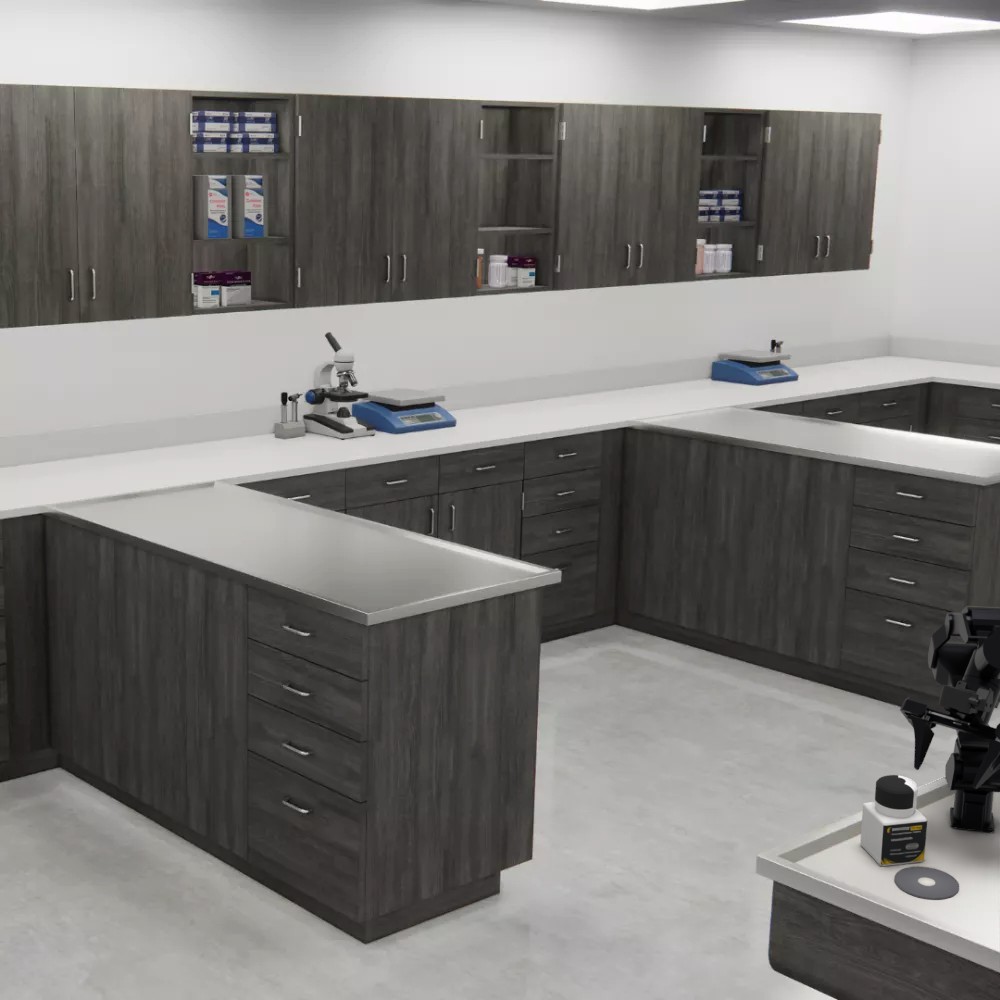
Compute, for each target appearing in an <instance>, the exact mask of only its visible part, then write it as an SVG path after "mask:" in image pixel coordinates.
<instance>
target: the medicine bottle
mask: <svg viewBox="0 0 1000 1000" xmlns="http://www.w3.org/2000/svg"><path fill="white" fill-rule="evenodd" d="M918 787H919V786H918V784H917V783H916V782H915V781H914V780H913V779H911V778H910V777H909V778H908V777H906V776H903V775H897V774H890V775H889V774H888V775H883V776H881V777H879V778H878V779H877V780H876V782H875V792H874V801H870V802H863V804H862V813H861V829H860V846H861V847H863V849H864V850H865V851H866V852H867V853H868V854H869V855H870V856H871V857H872V858H873V860H874V861H876V863H878V865H879V866H880V867H888V866H889V867H890V866H897V865H907V864H913V863H914V864H916V863H923V862H925V856H926V841H927V831H928V829H927V828H928V818H927V817H925V816H924V814H922V813H921V812H920V811H919V810H918V809H917V806H918V805H917V804H918V791H919V790H918Z"/></svg>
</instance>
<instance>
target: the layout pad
mask: <svg viewBox="0 0 1000 1000" xmlns="http://www.w3.org/2000/svg"><path fill="white" fill-rule="evenodd" d="M894 884H895V885H896V886H897V887H898V889H899V890H901V891H902V892H904V893H906V894H908V895H910V896H913V897H916V898H921V899H924V900H938V901H939V900H946V899H949V898H951V897H954V896H956V895H957V894H958V893H959V890H960V884H959V881H958V880H957V879H956V878H955V877H954V876H952V875H951V874H949V873H948V872H945V871H944V870H941V869H937V868H935V867H934V868H933V867H929V866H918V865H917V866H909V867H904V868H901V869H900V870H898V871H897V872H896V873H895V875H894Z"/></svg>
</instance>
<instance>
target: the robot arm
mask: <svg viewBox="0 0 1000 1000" xmlns="http://www.w3.org/2000/svg"><path fill="white" fill-rule="evenodd" d="M951 637H960V638H961V639H962V640H963V642H950V640H951ZM927 662H928V668H929V669H930V670H931V671H932V675H933V678H934V680H935V682H936V683H938V684H939V685H941V686H942V688H941V689H942V690H941V693H940V698H939V701H938V704H937V705H938V706H939V707H943V709H944V711H946V712H949V713H944V712H941V711H938V710H937V709H936V707H935V706H934V705H933V703H932V702H931V701H928V700H925V699H923V698H921V699H920V698H917V697H914V696H911V695H909V697H907V698H906V699H904V700H903V702H902V705H901V706H900V709H899V711H900V712H901V714H902V715H903V716H904V718H905V719H906V720H907V722H908V723H909V724H910V725H911V727H912V729H913V732H914V733H913V734H914V758H913V759H914V760H913V768H914V769H915V770H917V771H919V769H920V768H921V767H922V765H923V763H924V761H925V758H926V756H927V753H928V750H929V749H930V746H931V744H932V742H933V739H934V736H935V733H934V731H933V730H932V729H934V728H936V727H937V725H939V726H941V727H944V728H945V727H946V728H949V729H952V730H955V732H956V735H957V737H956V739H955V741H954V747H953V752H951V754H950V756H949V757H948V760H947V761H946V763H945V770H944V771H945V780H946V781H945V782H946V784H947V785H948V788H949V791H955V792H954V804H953V807H950V808H949V816H950V818H949V820H950V827H951V828H954V829H959V830H967V831H969V830H970V831H978V832H983V833H984V832H985V833H995V828H996V827H995V820H994V819H995V818H994V814H993V802H994V793H1000V722H999V723H998V724H997V725H996V727H993V726H990V724H989V722H990V720H991V717H992V716H993V713H994V710H995V709H998V707H999V705H1000V701H999V697H1000V606H981V605H980V606H979V605H978V606H977V605H967V606H965V607H964V608H963V609H962V610H961V611H951V612H950V613H949V612H947V613H946V616H945V619H944V623H943V624H942V625H941V626H940V627H939V628H938V629H937V630H936V631H934V633H932V635H931V638H930V643H929V647H928V655H927Z"/></svg>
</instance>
